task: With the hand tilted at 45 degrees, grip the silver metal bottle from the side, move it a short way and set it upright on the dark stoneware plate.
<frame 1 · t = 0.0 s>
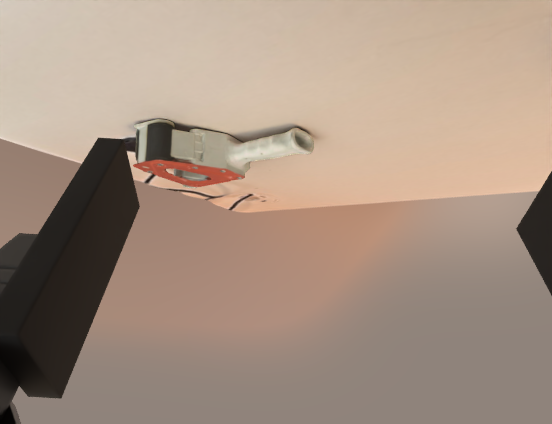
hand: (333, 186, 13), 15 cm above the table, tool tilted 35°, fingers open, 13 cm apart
tape dispenser: (218, 136, 53), on the table
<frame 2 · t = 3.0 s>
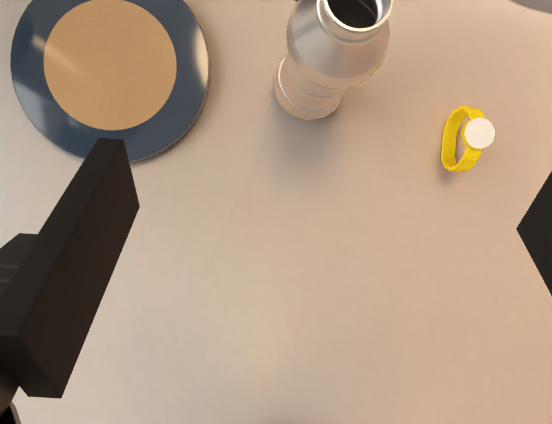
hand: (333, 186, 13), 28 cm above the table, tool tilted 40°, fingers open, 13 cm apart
silver metal bottle: (305, 91, 42), on the table
plate: (115, 68, 40), on the table
watch: (447, 143, 43), on the table
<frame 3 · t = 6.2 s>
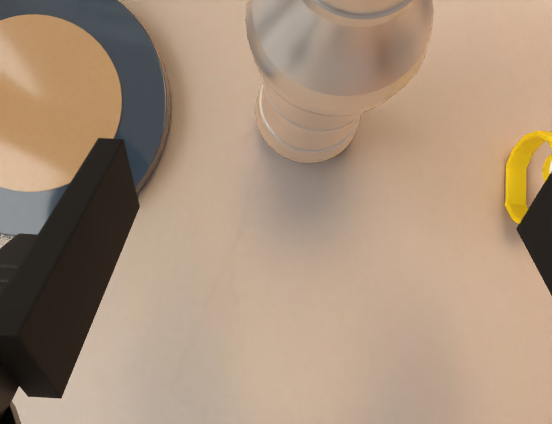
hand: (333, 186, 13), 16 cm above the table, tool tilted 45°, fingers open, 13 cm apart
silver metal bottle: (304, 123, 30), on the table
plate: (42, 107, 30), on the table
watch: (512, 184, 30), on the table
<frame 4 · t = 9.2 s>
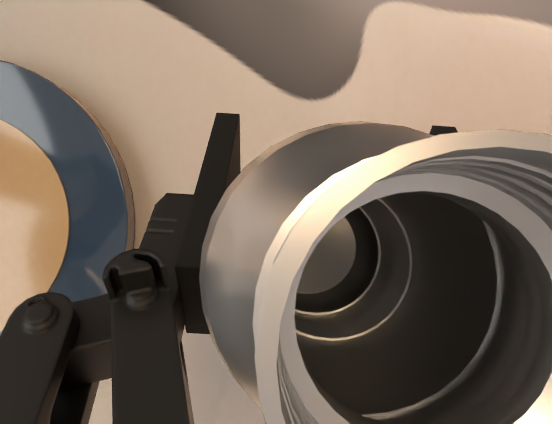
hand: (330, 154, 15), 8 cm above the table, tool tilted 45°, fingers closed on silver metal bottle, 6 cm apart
silver metal bottle: (306, 245, 23), on the table, touching gripper
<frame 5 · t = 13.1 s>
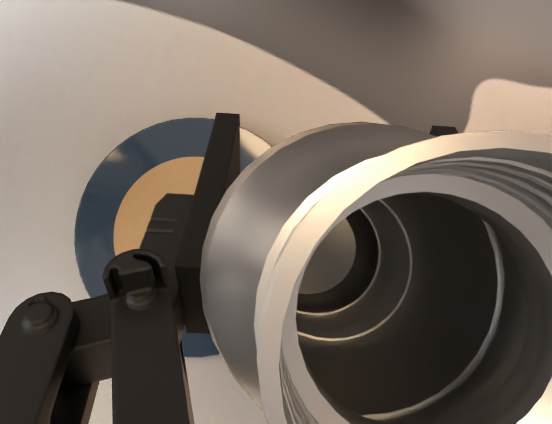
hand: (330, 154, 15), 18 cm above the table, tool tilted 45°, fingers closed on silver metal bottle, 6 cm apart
silver metal bottle: (306, 245, 23), point 10 cm above the table, touching gripper
plate: (196, 235, 33), on the table
when the fingers open (10 cm above the table, at t = 17.1 s): silver metal bottle stays where it is, resting on plate.
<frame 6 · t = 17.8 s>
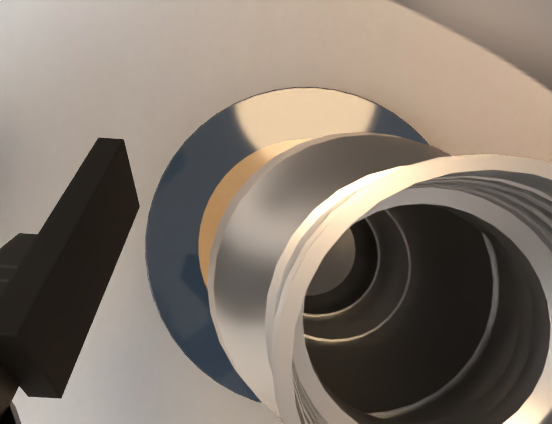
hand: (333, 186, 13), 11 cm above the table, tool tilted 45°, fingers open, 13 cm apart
silver metal bottle: (306, 247, 24), point 1 cm above the table, touching plate
plate: (304, 245, 25), on the table
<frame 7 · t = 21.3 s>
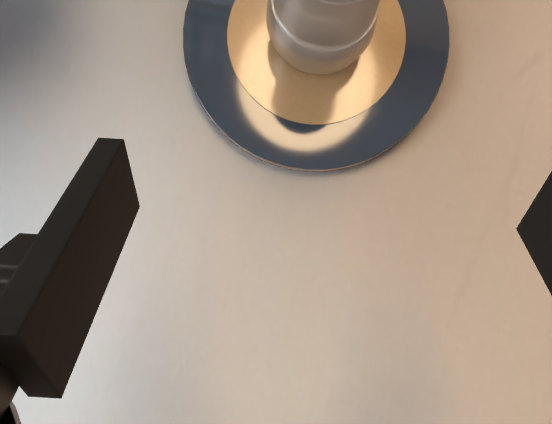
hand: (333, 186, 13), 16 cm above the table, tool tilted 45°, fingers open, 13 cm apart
silver metal bottle: (316, 38, 28), point 1 cm above the table, touching plate
plate: (314, 44, 30), on the table
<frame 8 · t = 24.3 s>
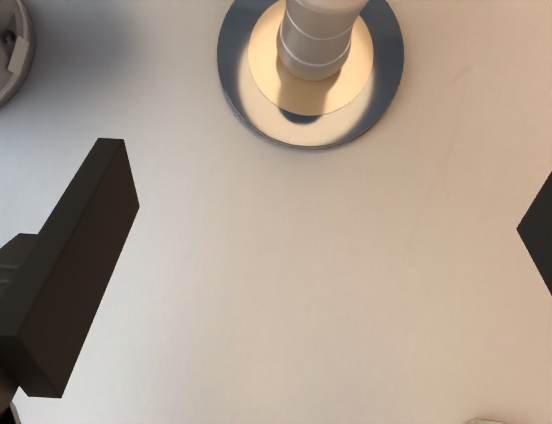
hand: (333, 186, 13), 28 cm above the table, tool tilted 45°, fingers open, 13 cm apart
silver metal bottle: (310, 55, 41), point 1 cm above the table, touching plate
plate: (309, 58, 42), on the table
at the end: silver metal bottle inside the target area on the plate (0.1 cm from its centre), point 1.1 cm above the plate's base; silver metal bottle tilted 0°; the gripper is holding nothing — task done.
